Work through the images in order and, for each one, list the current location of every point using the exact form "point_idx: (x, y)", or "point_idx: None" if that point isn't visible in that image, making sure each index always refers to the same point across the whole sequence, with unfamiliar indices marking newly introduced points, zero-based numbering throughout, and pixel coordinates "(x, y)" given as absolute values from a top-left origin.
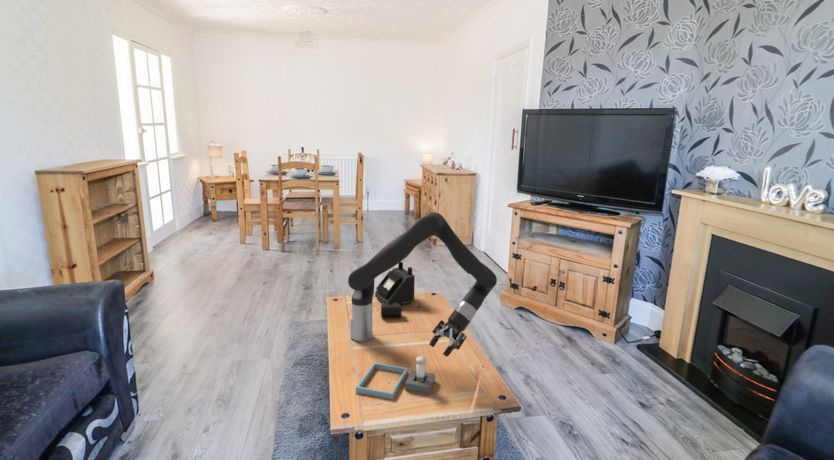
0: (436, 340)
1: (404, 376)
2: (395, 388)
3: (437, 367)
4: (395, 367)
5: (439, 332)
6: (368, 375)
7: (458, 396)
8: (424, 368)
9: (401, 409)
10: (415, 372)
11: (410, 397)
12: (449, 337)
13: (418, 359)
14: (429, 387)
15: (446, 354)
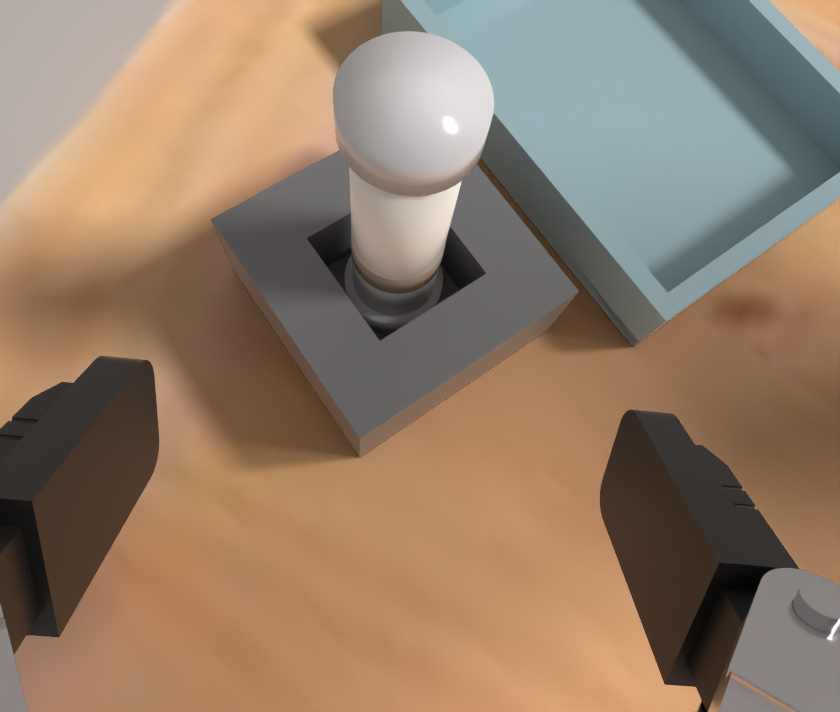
0: (658, 591)
1: (581, 244)
2: None
3: (590, 709)
4: (741, 241)
5: (747, 689)
6: (755, 38)
7: None
8: (355, 204)
9: (263, 26)
10: (521, 289)
11: None
12: (15, 686)
13: (420, 58)
14: (221, 236)
15: (61, 394)
